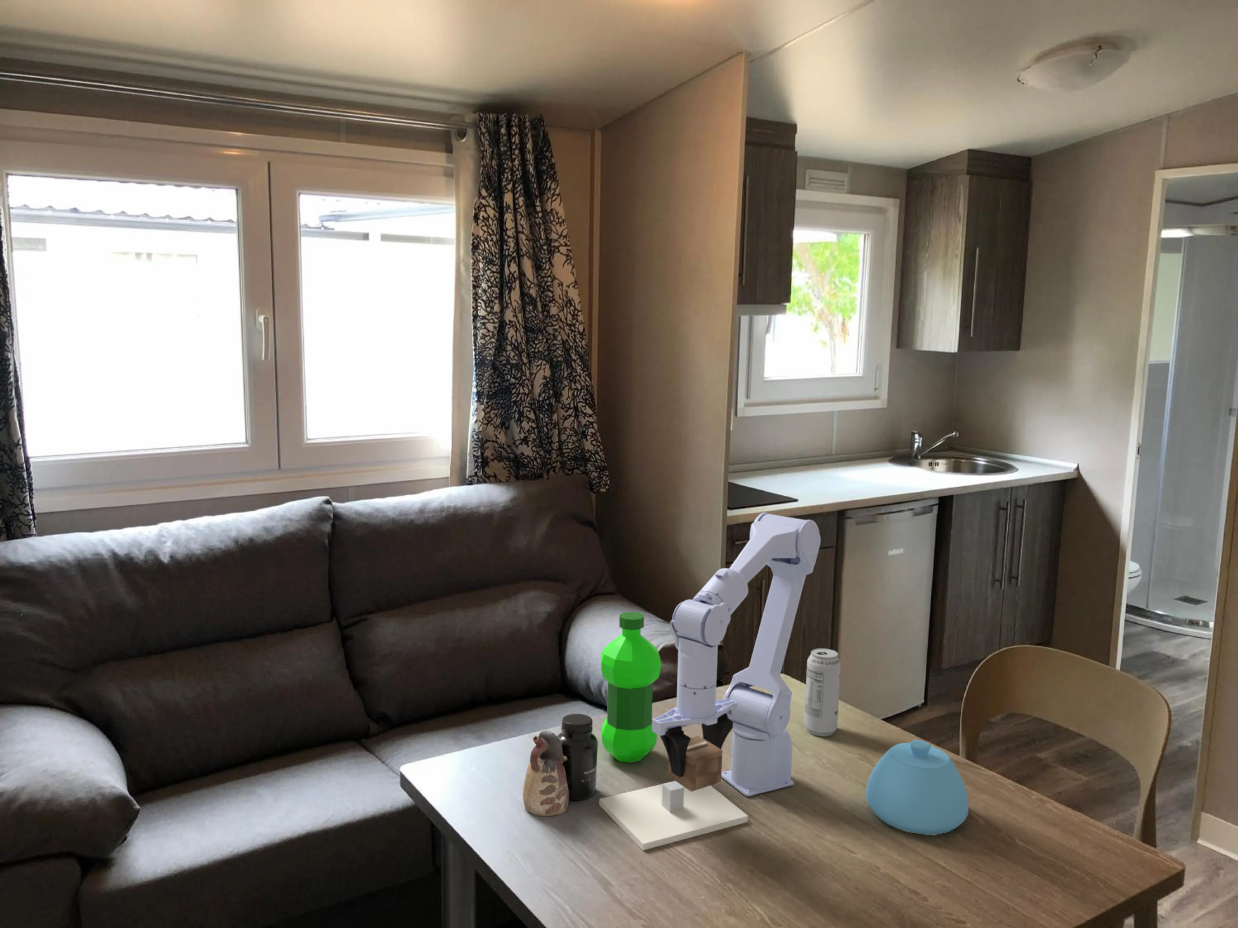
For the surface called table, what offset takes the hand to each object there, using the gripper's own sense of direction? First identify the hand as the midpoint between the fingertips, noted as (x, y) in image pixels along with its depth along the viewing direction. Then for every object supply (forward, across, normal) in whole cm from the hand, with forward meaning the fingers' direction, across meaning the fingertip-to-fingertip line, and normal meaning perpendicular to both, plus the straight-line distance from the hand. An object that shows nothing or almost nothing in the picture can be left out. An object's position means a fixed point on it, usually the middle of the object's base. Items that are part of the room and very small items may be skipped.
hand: (693, 768), depth 139 cm
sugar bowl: (+9, +31, -16) cm, 36 cm away
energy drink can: (+9, +40, +13) cm, 43 cm away
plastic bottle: (+9, +4, +23) cm, 25 cm away
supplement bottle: (+9, -10, +17) cm, 22 cm away
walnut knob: (+2, 0, 0) cm, 2 cm away
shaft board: (+8, -1, +4) cm, 9 cm away
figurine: (+9, -16, +16) cm, 24 cm away
